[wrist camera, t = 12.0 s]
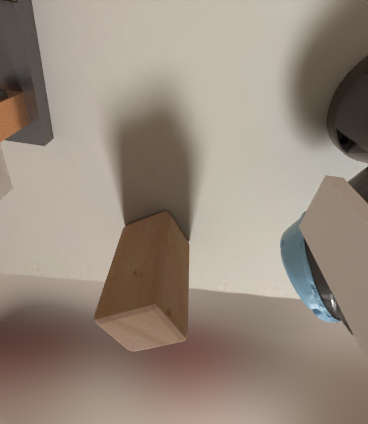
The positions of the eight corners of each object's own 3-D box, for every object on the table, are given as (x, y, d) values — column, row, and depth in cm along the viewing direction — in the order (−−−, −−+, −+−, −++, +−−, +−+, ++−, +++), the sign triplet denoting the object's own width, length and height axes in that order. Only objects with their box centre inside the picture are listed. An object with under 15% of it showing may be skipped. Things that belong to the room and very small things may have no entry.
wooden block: (168, 207, 47) (155, 304, 31) (191, 243, 52) (190, 343, 36) (122, 224, 50) (88, 321, 34) (148, 257, 55) (129, 355, 39)
